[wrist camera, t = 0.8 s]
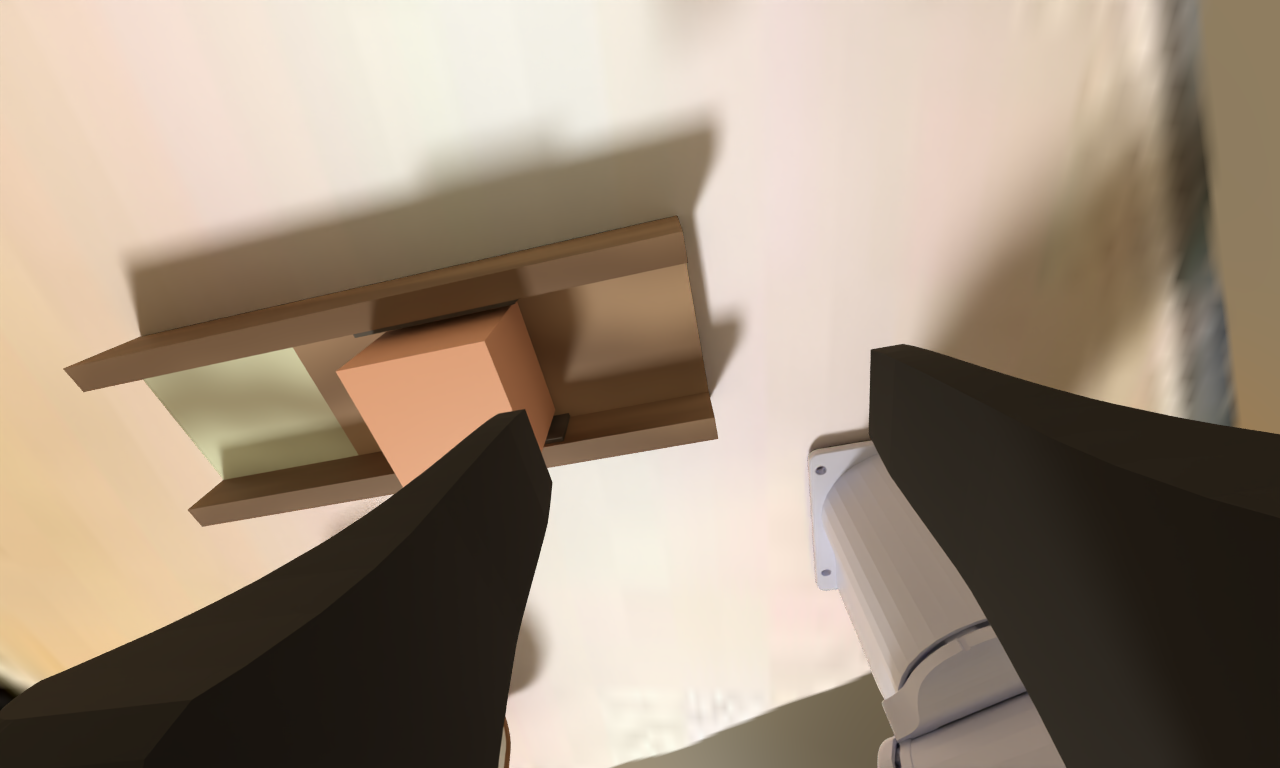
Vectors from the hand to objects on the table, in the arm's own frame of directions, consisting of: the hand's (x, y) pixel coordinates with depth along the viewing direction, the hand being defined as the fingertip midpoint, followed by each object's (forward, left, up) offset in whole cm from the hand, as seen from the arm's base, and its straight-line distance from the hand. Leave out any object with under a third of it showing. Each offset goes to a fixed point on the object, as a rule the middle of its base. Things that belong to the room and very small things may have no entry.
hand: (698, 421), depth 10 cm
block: (-1, +8, -9) cm, 12 cm away
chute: (-1, +11, -10) cm, 15 cm away
